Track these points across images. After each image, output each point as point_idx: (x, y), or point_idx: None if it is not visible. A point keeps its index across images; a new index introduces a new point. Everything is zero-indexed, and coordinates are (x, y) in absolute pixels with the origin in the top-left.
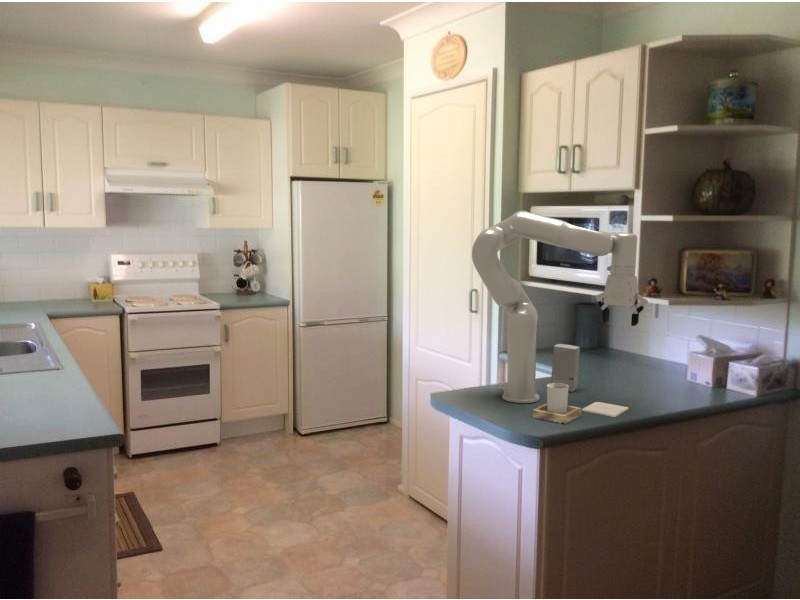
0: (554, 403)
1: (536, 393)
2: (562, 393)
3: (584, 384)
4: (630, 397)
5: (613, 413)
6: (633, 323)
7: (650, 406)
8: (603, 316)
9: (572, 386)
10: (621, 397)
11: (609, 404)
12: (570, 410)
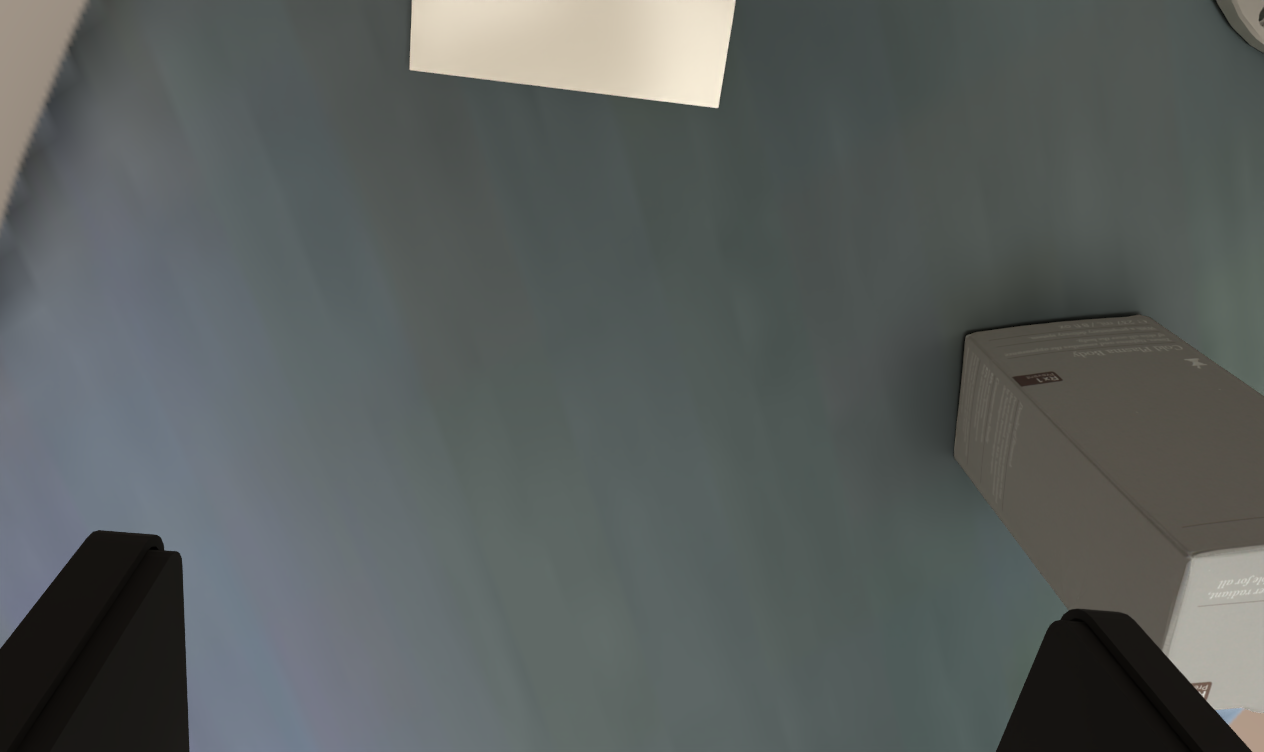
0: None
1: (1256, 29)
2: None
3: (919, 579)
4: (515, 429)
5: None
6: (65, 590)
7: (283, 261)
8: (1218, 727)
9: (990, 351)
10: (577, 393)
11: (588, 74)
12: None
